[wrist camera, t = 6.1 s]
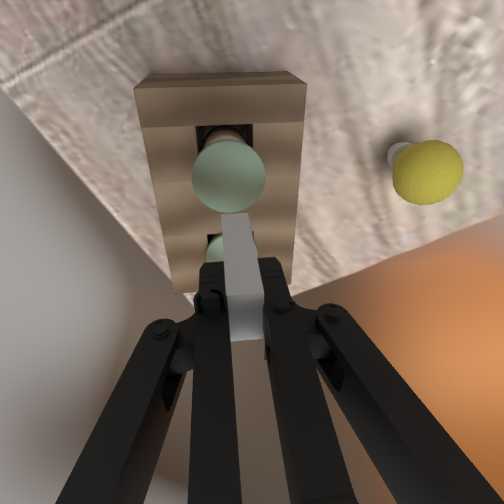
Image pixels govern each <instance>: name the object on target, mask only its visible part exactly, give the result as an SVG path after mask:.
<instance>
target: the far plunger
mask: <svg viewBox="0 0 504 504" xmlns="http://www.w3.org/2000/svg"><path fill="white" fill-rule="evenodd" d="M254 245H255V243H254ZM255 250H256V255H257V258H258V253H257V248H256V245H255ZM219 261H224V254H223V238H222V233H220V234H213V239H212V240H211V241H210V243H209V244H208V246H207V249H206V262H219Z"/></svg>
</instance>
